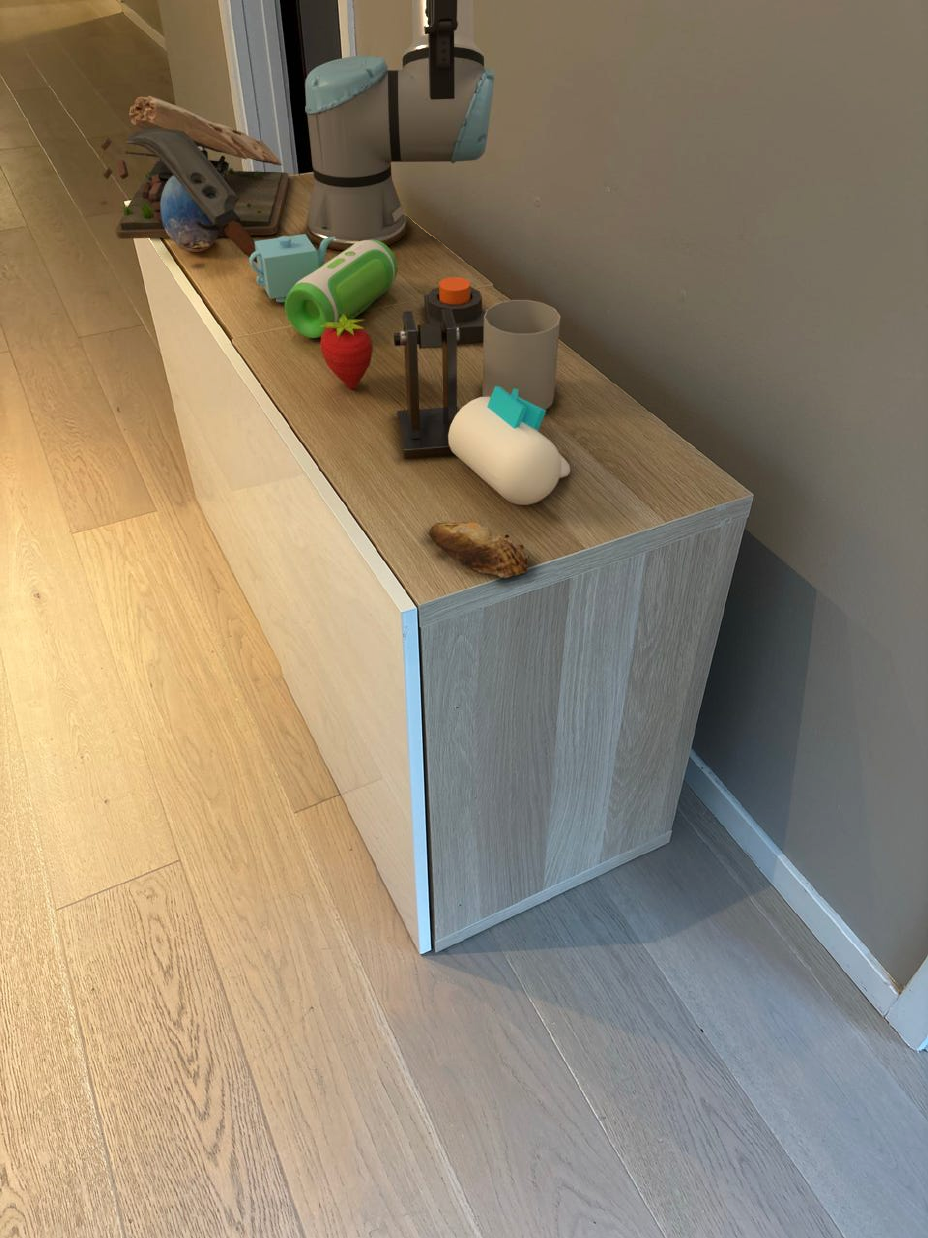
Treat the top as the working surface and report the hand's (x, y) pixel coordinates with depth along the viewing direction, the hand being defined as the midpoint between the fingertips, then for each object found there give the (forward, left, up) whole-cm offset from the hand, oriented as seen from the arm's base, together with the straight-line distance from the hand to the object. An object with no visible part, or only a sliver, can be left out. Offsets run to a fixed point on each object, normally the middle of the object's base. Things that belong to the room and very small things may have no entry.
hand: (442, 96), depth 106 cm
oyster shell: (+45, -5, -25) cm, 52 cm away
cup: (+22, +6, -27) cm, 35 cm away
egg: (-20, -34, -27) cm, 47 cm away
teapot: (-10, -19, -26) cm, 34 cm away
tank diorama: (-44, -35, -27) cm, 62 cm away
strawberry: (+17, -14, -27) cm, 34 cm away
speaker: (-2, -13, -27) cm, 30 cm away
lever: (+25, -5, -18) cm, 31 cm away
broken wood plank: (-47, -32, -20) cm, 60 cm away
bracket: (+29, -5, -26) cm, 39 cm away
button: (+3, +1, -23) cm, 23 cm away
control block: (+3, +1, -26) cm, 27 cm away
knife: (-12, -23, -26) cm, 37 cm away
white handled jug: (+39, +3, -26) cm, 47 cm away
